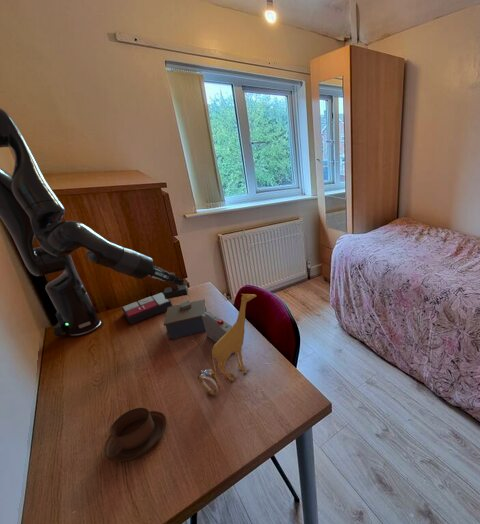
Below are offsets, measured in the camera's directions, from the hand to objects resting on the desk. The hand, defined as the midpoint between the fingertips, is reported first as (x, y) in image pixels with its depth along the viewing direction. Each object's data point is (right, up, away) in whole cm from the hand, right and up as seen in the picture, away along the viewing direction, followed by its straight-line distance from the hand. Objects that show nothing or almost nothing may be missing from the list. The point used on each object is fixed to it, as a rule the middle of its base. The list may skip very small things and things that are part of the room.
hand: (179, 281), depth 103 cm
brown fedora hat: (+11, -35, -35) cm, 51 cm away
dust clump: (0, -10, +4) cm, 11 cm away
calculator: (-21, -13, +15) cm, 29 cm away
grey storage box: (+1, -17, +5) cm, 18 cm away
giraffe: (+29, -26, -16) cm, 42 cm away
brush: (-1, -5, 0) cm, 5 cm away
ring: (+23, -30, -23) cm, 44 cm away
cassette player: (+17, -21, -4) cm, 27 cm away
